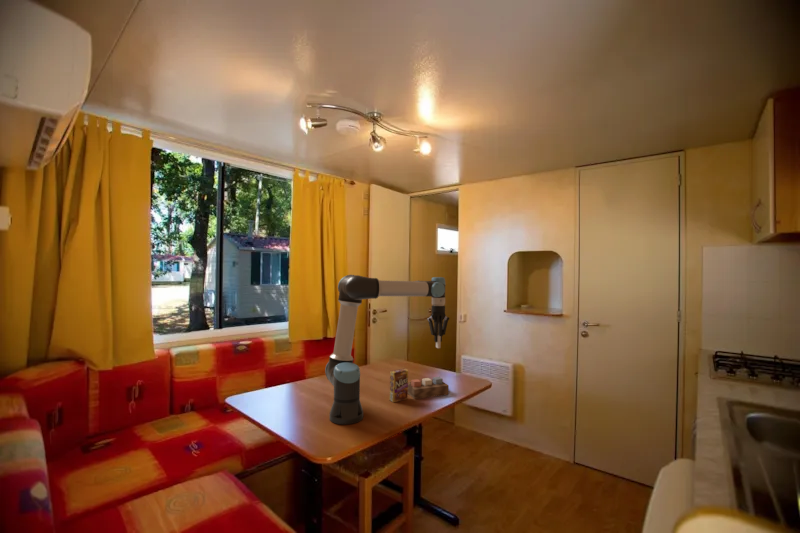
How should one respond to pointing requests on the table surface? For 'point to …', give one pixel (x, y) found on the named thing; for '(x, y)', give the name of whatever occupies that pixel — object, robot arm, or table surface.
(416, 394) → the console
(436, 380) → the slate key
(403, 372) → the candy box
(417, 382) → the brick key
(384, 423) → the table surface
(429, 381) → the ivory key
